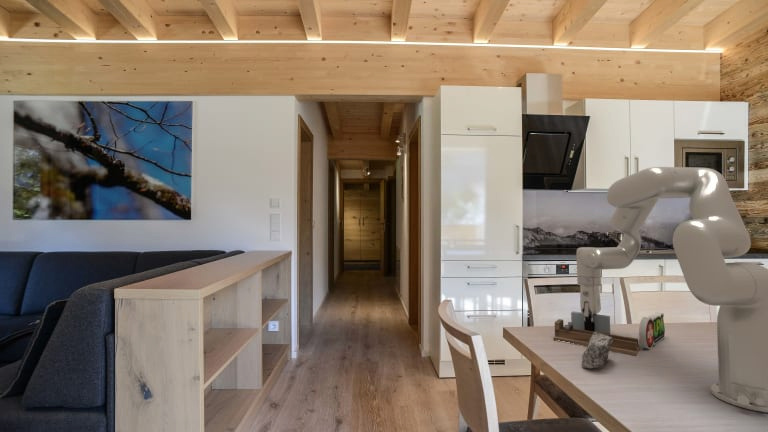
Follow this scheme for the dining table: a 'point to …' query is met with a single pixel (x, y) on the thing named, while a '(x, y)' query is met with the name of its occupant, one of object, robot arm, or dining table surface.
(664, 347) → the dining table surface
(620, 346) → the rail
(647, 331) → the sign
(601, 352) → the rock
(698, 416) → the dining table surface
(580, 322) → the panel
